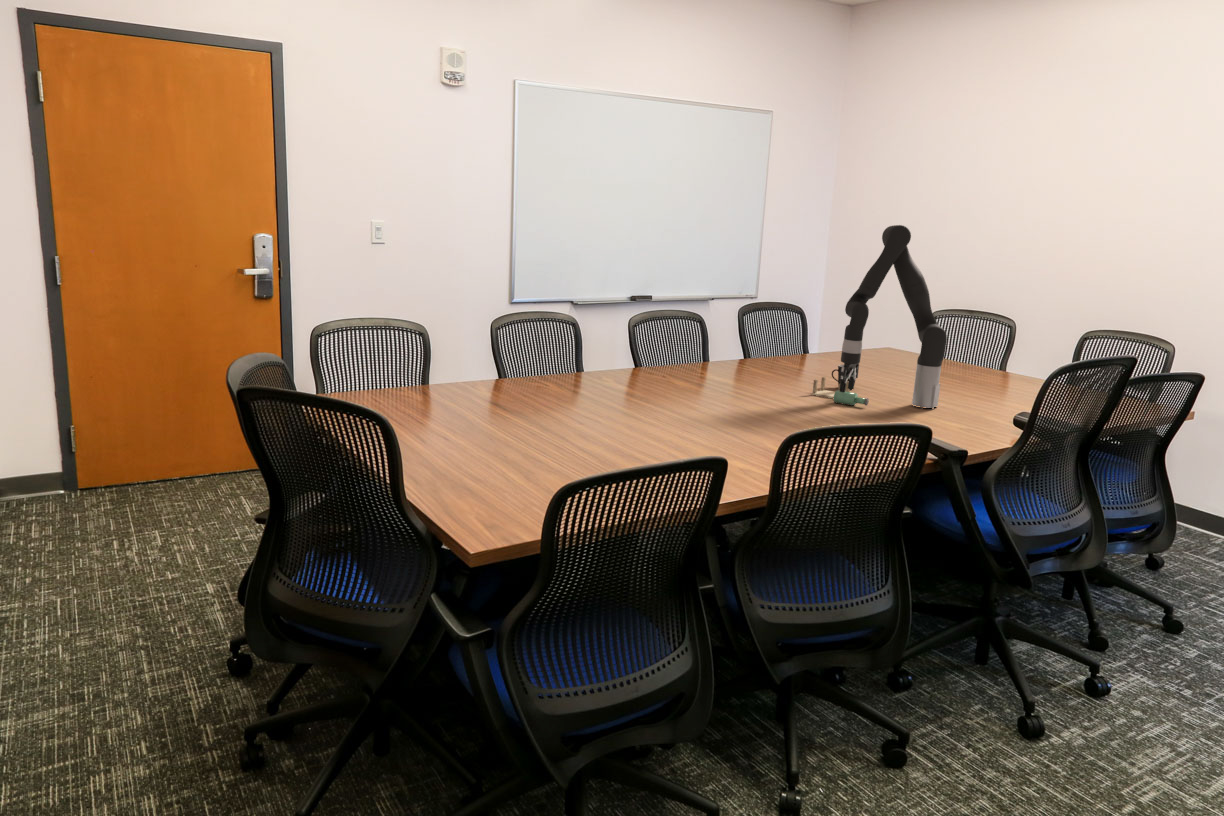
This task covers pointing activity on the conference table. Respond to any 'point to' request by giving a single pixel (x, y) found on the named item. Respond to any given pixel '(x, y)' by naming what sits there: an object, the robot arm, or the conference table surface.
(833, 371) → the coffee mug
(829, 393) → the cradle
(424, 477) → the conference table surface
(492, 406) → the conference table surface
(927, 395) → the robot arm
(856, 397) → the bottle
